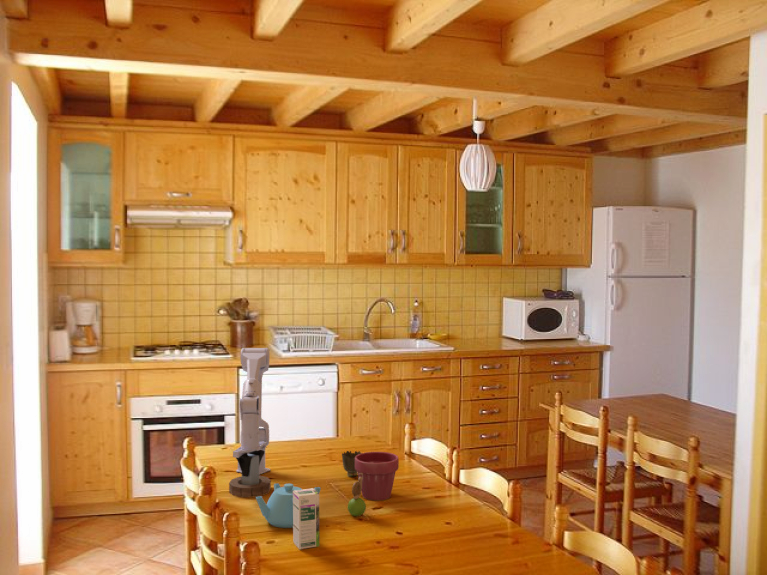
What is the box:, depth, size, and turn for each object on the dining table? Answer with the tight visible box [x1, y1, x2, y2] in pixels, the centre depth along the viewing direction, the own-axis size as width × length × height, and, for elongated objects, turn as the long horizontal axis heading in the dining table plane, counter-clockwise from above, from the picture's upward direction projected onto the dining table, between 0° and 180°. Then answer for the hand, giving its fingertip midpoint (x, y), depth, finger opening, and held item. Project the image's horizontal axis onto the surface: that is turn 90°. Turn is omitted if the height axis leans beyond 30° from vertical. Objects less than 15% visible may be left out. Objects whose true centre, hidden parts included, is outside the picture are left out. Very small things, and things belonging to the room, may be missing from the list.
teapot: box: [255, 483, 321, 529], centre depth 220 cm, size 15×15×11 cm
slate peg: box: [241, 454, 260, 485], centre depth 247 cm, size 4×4×10 cm
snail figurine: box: [347, 473, 367, 517], centre depth 225 cm, size 5×6×12 cm
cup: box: [341, 450, 362, 478], centre depth 264 cm, size 8×7×8 cm
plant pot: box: [355, 451, 400, 501], centre depth 242 cm, size 14×14×13 cm
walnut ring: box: [228, 475, 272, 498], centre depth 247 cm, size 13×13×3 cm
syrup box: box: [292, 487, 320, 550], centre depth 202 cm, size 6×6×14 cm
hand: (250, 474), depth 247 cm, fingers closed on slate peg, 4 cm apart
